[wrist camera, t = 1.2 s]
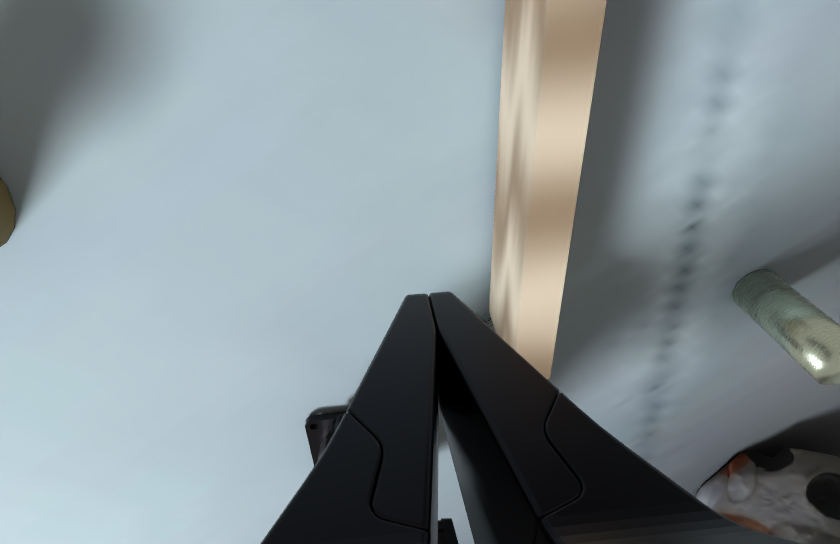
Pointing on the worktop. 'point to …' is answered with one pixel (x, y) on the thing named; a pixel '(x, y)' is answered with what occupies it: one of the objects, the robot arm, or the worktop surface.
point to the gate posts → (790, 323)
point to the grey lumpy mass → (780, 494)
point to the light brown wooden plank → (540, 164)
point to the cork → (6, 214)
